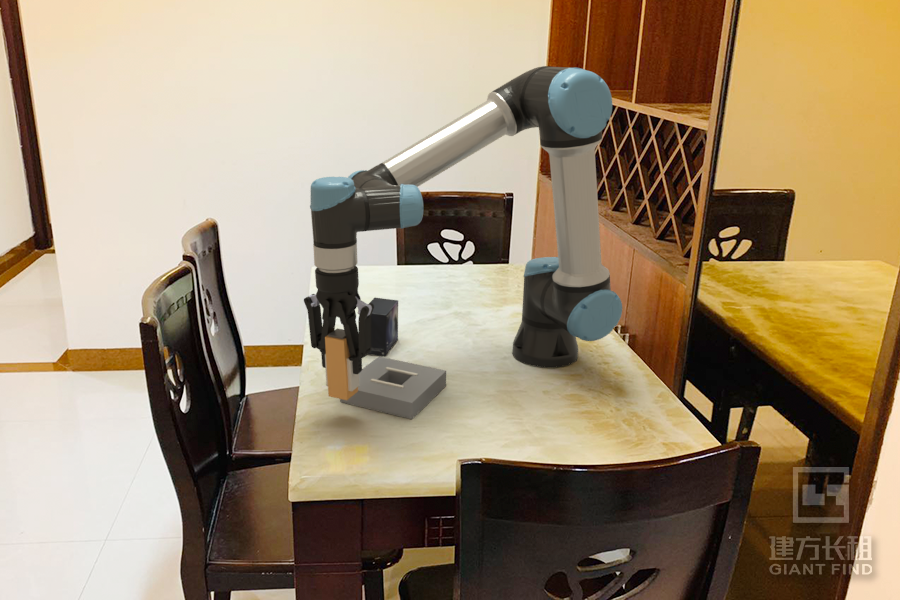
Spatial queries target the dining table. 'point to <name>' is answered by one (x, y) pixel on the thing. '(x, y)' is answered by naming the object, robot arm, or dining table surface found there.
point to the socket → (397, 387)
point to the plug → (337, 365)
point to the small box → (383, 326)
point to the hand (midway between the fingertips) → (343, 385)
